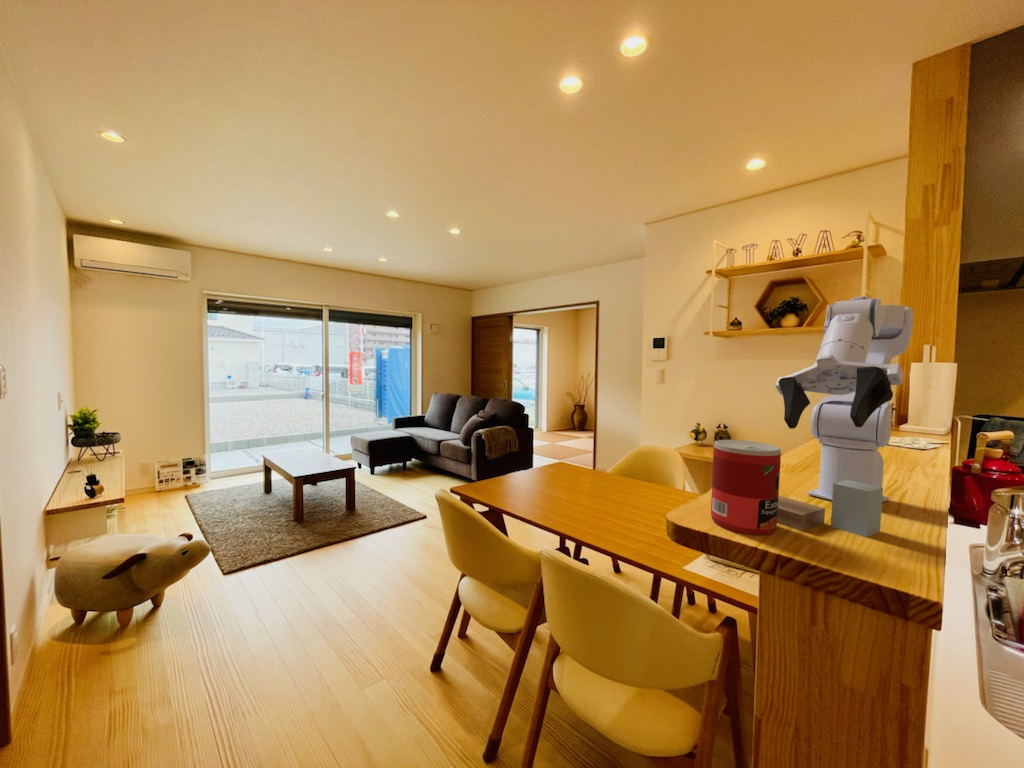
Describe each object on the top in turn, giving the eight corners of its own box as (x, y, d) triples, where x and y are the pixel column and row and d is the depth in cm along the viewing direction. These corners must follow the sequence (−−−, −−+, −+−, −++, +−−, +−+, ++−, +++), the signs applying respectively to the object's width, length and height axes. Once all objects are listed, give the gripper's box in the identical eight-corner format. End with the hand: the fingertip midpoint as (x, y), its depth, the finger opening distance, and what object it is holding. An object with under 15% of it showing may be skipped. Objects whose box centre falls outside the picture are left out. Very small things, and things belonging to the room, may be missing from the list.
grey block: (844, 521, 60) (847, 479, 60) (880, 532, 56) (883, 487, 56) (830, 526, 58) (833, 483, 58) (866, 537, 54) (869, 491, 54)
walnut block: (779, 512, 64) (780, 496, 64) (824, 525, 59) (825, 508, 59) (756, 518, 61) (756, 501, 61) (801, 533, 56) (802, 515, 56)
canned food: (773, 541, 52) (778, 453, 52) (704, 525, 57) (707, 444, 57) (779, 523, 58) (784, 444, 58) (716, 510, 63) (720, 437, 63)
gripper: (777, 345, 67) (752, 405, 61) (896, 324, 55) (879, 396, 49) (795, 377, 70) (772, 438, 63) (913, 364, 58) (899, 438, 51)
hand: (820, 422), depth 56 cm, fingers open, 7 cm apart
